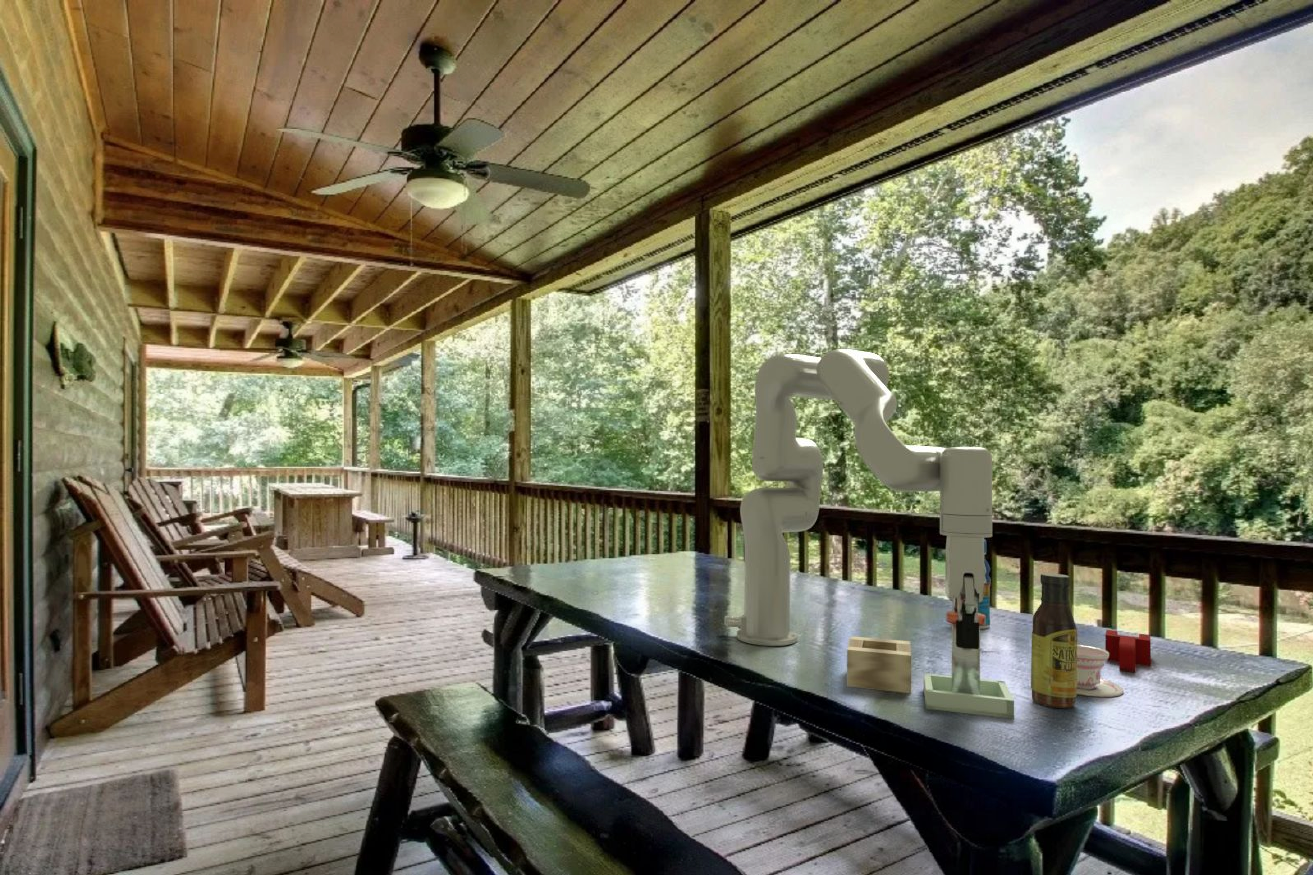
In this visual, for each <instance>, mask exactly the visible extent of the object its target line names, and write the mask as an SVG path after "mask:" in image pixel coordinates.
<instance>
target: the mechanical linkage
mask: <svg viewBox="0 0 1313 875" xmlns="http://www.w3.org/2000/svg"><path fill="white" fill-rule="evenodd" d="M1104 636H1105V638H1104V639H1105V644H1104V645H1105V646H1104V647H1105V649H1104V650H1106V651H1108V652H1109V658H1108V660H1107V661H1108V662H1109V661H1110V662H1116V663H1119V665H1118V666H1119V667H1118V668H1119V669H1118V670H1119V671H1122V672H1123V671H1124V672H1129V673H1130V672H1131V673H1136V665H1137V666H1138V665H1139V666H1145V667H1152V664H1151V663H1152V656H1151V655H1152V654H1151V651H1152V648H1151V647H1152V646H1151V644H1152V643H1151V642H1152V641H1151V634H1148V633H1147V634H1146V633H1138V636H1129V635H1123V634H1122V635H1121V634H1118V630H1114V629H1113V630H1111V629H1106V630H1105V635H1104Z"/></svg>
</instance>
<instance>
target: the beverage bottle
mask: <svg viewBox="0 0 1313 875" xmlns="http://www.w3.org/2000/svg"><path fill="white" fill-rule="evenodd" d="M984 555H987V540H986V539H984ZM990 572H991V567H990V564H989V562H988V561H987V559H986V557H984V588H983V600H982V601H981V602H979V603H978V613H980V614H983V615H985V616H986V624H985V625H984V626H980V630H985V629H988V628H990V627H991V615H990V613H991V611H990V610H991V609H990V608H991V607H990V606H991V604H990V603H991V601H990V600H991V598H990V597H991V596H990V595H991V588H990V587H991V584H992V583H991V582H992V581H991V580H992V579H991V577H990ZM951 602H952V604H951V605H952V608H951V611H954V598H953V601H951Z"/></svg>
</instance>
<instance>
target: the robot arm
mask: <svg viewBox="0 0 1313 875" xmlns="http://www.w3.org/2000/svg"><path fill="white" fill-rule="evenodd" d="M889 379H890V370H889V367H888V364H887V363H886V362H885V360H884V359H883V358H882V357H881V356H879V355H878V354H875V353H874V352H873V353H872V352H870V351H869V352H868V351H860V350H854V349H848V348H838V349H833V350H830V351H827V352H826V353H825V354H824V355H822V357H820V356H818V357H817V356H814V355H813V356H812V355H806V354H799V353H798V354H797V353H779V354H777V355H776V354H775V355H773V356H771V357H768V359H766V360H765V361H764V362H763V363H762V365H761V366H760V367H759V369H758V371H757V375H756V376H755V381H754V396H755V411H756V412H755V423H754V433H753V434H754V435H753V446H752V447H753V448H752V456H751V457H752V460H751V463H752V464H751V467H752V472H753V474H754V476H755V477H756V478H758V479H759V480H760V481H761V480H762V481H766V482H777V483H778V482H785V483H786V487H779V486H777V487H758V488H755V489H752V490H750V491H748V492H747V493H746V494H745V495H744V496H743V498H742V500H741V503H740V507H739V512H740V513H739V514H740V522H741V525H742V531H743V538H744V540H743V541H744V542H743V543H744V593H743V594H744V595H743V597H744V598H743V600H744V602H743V603H744V605H743V606H744V607H743V612H744V613H743V615H739V616H731V615H724V619H723V623H724V626H727V627H729V628H738V630H737V631H736V639H738V640H739V641H741V642H743V643H747V644H751V645H756V646H764V647H765V646H766V647H767V646H769V647H777V646H781V647H782V646H788V645H792V644H795V643H796V642H797V641H798V633H796V632H794V631H792V630H791V553H790V552H791V551H790V548H789V546H788V542H787V541H786V539H785V537H784V535H783V533H794V532H795V533H796V532H805V531H807V530H809V529H811V528H812V527H814V525H815V523H816V521H817V519H818V516H819V511H820V505H821V504H820V503H821V493H822V485H823V475H824V474H823V473H824V459H823V455H822V452H821V449H820V448H819V446H818V444H816V442H814V441H813V440H811V439H810V438H805V437H797V433H796V432H797V423H798V422H797V421H798V419H797V412H796V409H795V406H794V404H793V402H792V401H791V397H798V398H807V399H819V400H834V402H835V403H836V404H837V405H838V406H839V408H840V409H841V411H843V413H844V414H845V415H846V416H847V418H848V419H849V420H850V421H851V422H852V424H853V425H854V441H855V446H856V449H857V453H858V455H859V456H860V458H861V459H862V461H863V462H864V464H865V465H866V467H867V468H868V470H870V471H871V473H872V474H873V476H875V477H876V478H877V480H878V481H880V482H881V483H882V484H883V485H884V486H886V487H887V488H889V489H890V490H892V491H895V492H906V493H907V492H921V493H923V492H924V493H926V492H939V534H940V536H941V535H942V536H946V543H945V574H944V575H945V580H944V581H945V582H944V583H945V585H944V592H945V594H946V598H947V599H948V600H949V601H951V602H952V601H953V598H954V611H958V620H956V646H957V647H959V648H970V649H978V648H979V622H978V603H979V602H981V601H982V600H983V588H984V558H985V554H984V540H985V538H992V537H993V456H992V454H991V452H990V450H989V449H987V448H985V447H978V446H954V447H953V446H951V447H939V446H925V445H907V444H904V443H903V442H902V441H901V440H900V439H899V438H898V436H897V435H896V434H894V432H893V431H892V430H891V429H890V427H889V426H888V424H887V423H888V421H889V420H890V419H891V418H892V416H893V415H894V413H895V412H896V409H897V404H898V402H897V399H896V396H895V395H894V394H893V393H892V392H891V391H890V390H889V388H888V387H887V386H888V384H889Z"/></svg>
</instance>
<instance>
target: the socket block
mask: <svg viewBox="0 0 1313 875" xmlns="http://www.w3.org/2000/svg"><path fill="white" fill-rule="evenodd" d="M846 686H847V687H851V688H860V689H868V690H878V691H887V692H894V693H895V692H897V693H906V694H912V649H911V641H909V640H899V639H898V640H897V639H886V638H874V637H863V636H850V638H849V641H848V645H847V649H846Z"/></svg>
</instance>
